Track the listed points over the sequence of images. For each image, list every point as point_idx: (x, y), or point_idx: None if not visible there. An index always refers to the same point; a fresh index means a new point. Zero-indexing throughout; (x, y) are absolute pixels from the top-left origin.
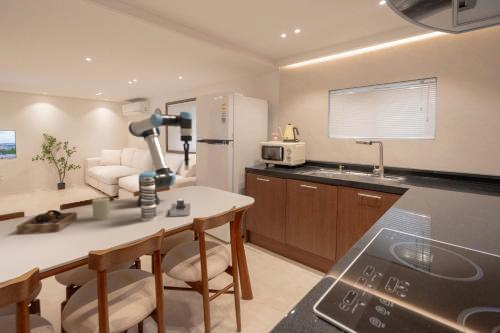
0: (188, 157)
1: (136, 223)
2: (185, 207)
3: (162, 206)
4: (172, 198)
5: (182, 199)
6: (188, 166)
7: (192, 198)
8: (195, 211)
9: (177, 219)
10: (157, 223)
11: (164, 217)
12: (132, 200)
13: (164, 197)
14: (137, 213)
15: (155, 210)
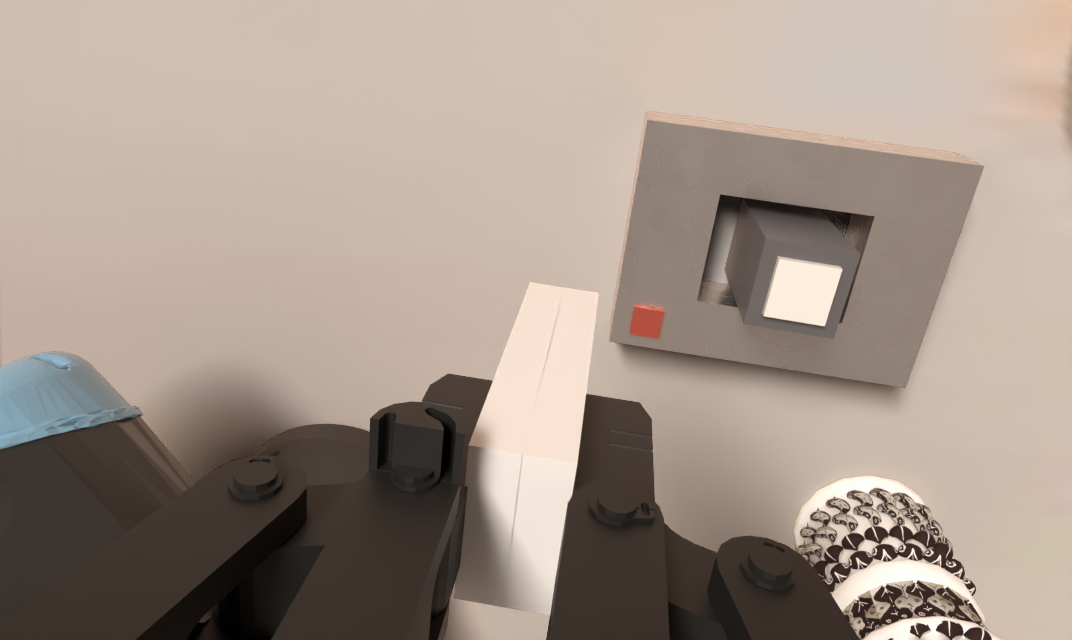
0: (374, 541)
1: None
2: (832, 204)
3: None
4: (127, 278)
5: (798, 265)
6: (588, 350)
7: (139, 22)
8: (810, 61)
9: (1034, 297)
10: (1059, 476)
11: (893, 409)
12: None
13: None
14: None
15: (932, 536)
